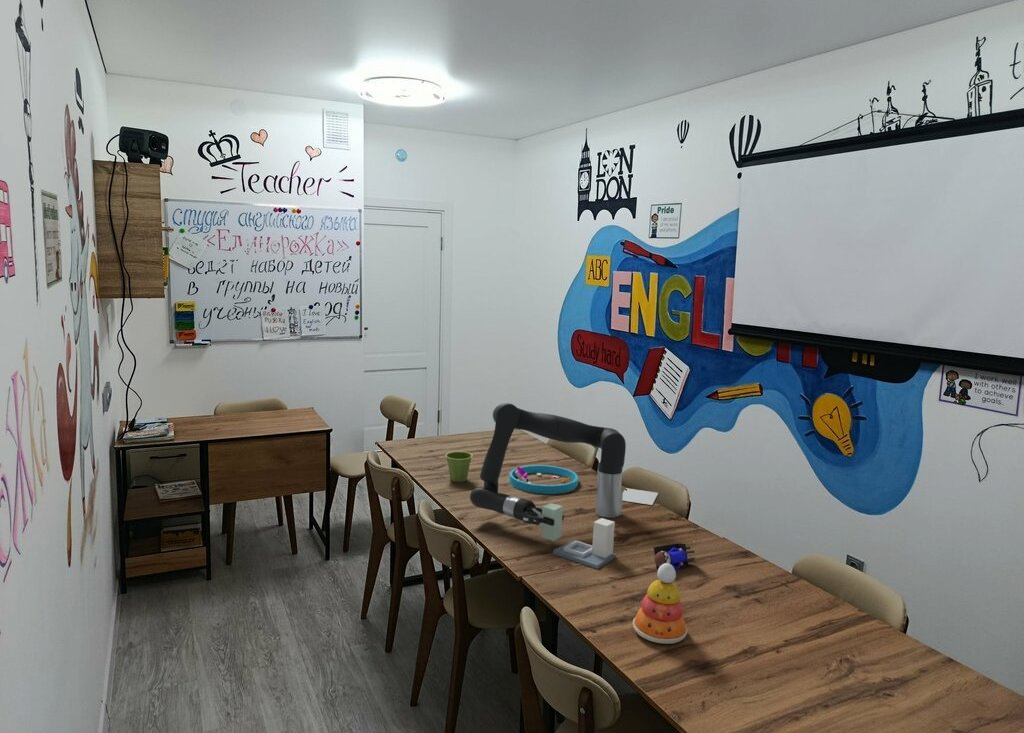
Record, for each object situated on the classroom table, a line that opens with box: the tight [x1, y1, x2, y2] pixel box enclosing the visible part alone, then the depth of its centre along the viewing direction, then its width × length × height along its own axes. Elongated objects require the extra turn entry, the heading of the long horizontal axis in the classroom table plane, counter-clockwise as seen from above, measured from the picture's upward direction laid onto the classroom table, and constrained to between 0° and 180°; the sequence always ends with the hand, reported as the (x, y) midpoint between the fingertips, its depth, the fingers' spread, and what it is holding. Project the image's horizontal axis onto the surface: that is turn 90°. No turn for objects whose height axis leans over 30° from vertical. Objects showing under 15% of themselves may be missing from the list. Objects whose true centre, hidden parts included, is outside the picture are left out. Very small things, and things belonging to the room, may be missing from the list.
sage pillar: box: [540, 502, 564, 542], centre depth 241 cm, size 5×5×11 cm
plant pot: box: [445, 451, 473, 483], centre depth 306 cm, size 12×12×11 cm
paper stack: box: [622, 487, 659, 506], centre depth 300 cm, size 23×25×1 cm
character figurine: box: [653, 542, 696, 571], centre depth 227 cm, size 8×7×15 cm
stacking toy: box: [632, 563, 688, 645], centre depth 185 cm, size 14×14×20 cm
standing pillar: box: [592, 517, 616, 558], centre depth 232 cm, size 5×5×11 cm
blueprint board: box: [552, 539, 617, 570], centre depth 233 cm, size 12×17×2 cm
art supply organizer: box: [508, 464, 579, 495], centre depth 308 cm, size 30×30×6 cm
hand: (558, 520), depth 239 cm, fingers closed on sage pillar, 5 cm apart
